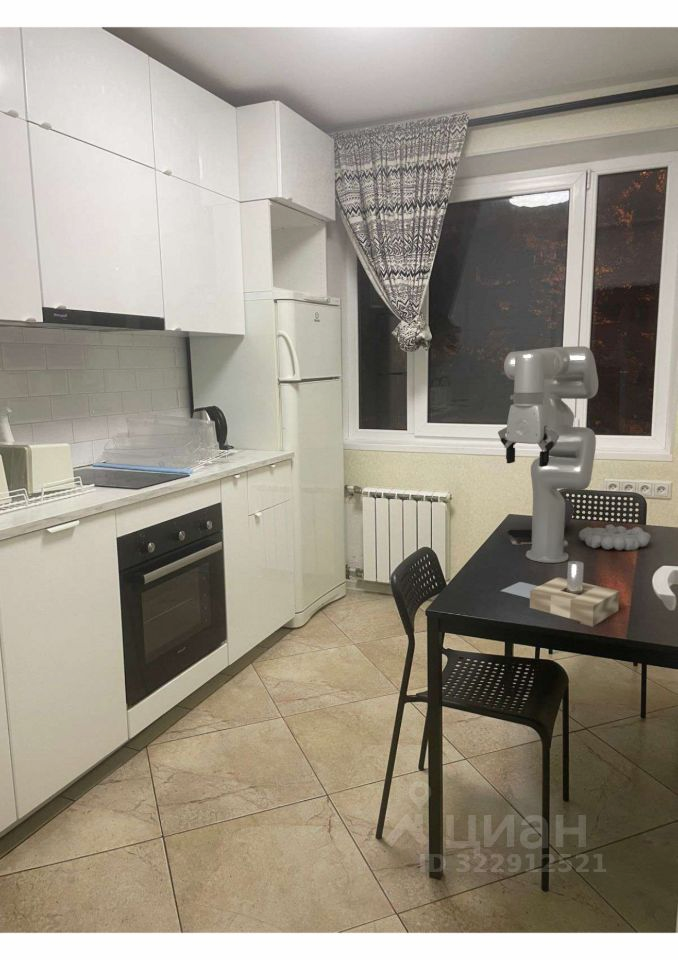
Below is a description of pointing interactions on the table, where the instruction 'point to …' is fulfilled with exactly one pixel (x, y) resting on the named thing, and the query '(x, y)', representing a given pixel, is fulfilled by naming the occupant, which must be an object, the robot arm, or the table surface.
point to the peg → (575, 577)
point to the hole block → (575, 601)
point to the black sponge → (520, 536)
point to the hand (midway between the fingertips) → (526, 464)
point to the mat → (520, 589)
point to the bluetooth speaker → (568, 511)
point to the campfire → (615, 537)
